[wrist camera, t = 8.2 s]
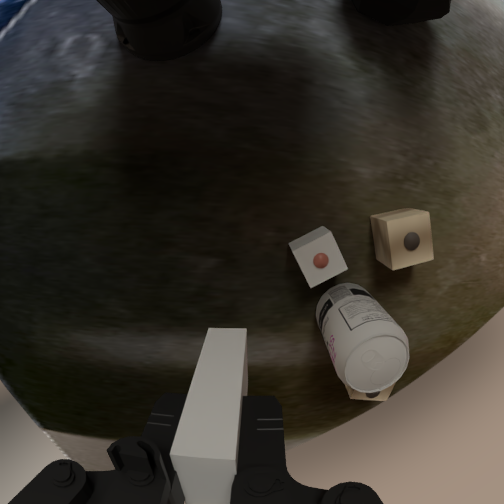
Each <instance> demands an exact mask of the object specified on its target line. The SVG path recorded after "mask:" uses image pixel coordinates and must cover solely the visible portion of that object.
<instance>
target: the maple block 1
mask: <svg viewBox="0 0 504 504" xmlns="http://www.w3.org/2000/svg"><path fill="white" fill-rule="evenodd" d="M395 383H396V382H395ZM395 383H394V384H393V385H391V386H389V387H388V388H386V389H384V390H382V391H378V392H373V393H363V392H359V391H357V390H355V389H353V388H351V387H350V386H348V385H346V384H345V386H346V389H347V391H348V394H349V397H350V399H360V400H376V401H387V399H388V397H389V395H390V393H391V391H392V389H393V387H394V385H395Z"/></svg>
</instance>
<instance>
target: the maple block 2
mask: <svg viewBox="0 0 504 504" xmlns="http://www.w3.org/2000/svg"><path fill="white" fill-rule="evenodd" d="M370 220H371V226H372V233H373V240H374V247H375V254H376V259H377V260H378V261H380V262H381V263H383V264H384V265H385V266H387V267H388V268H390V269H391V270H397V269H401V268H404V267H408V266H412V265H415V264H419V263H422V262H426V261H430V260H433V259H434V257H433V245H432V234H431V225H430V216H429V212H427V211H422V210H417V209H412V208H405V209H400V210H396V211H391V212H386V213H381V214H377V215H372V216H370Z"/></svg>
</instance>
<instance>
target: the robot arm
mask: <svg viewBox="0 0 504 504" xmlns="http://www.w3.org/2000/svg"><path fill="white" fill-rule="evenodd" d="M97 1H98V2H99V3H100V4H101V5H102V6H103V7H104V8H105V9H106V10H107V11H108V12H109V13H110V14H111V15H112V16H113V21H114V26H115V31H116V35H117V37H118V39H119V41H120V42H121V44H122V45H123V46H124V47H125V48H126V49H127V50H128V51H129V52H130V53H132V54H133V55H135V56H137V57H139V58H142V59H146V60H152V61H162V60H169V59H174V58H177V57H180V56H183V55H185V54H188V53H190V52H191V51H193V50H195V49H196V48H198V47H199V46H201V45H202V44H203V43H205V42H206V41H207V40H208V39H209V38H210V37H211V35H212V34H213V33H214V32H215V30H216V28H217V27H218V25H219V22H220V19H221V15H222V5H221V1H220V0H97ZM247 388H248V369H247V329H246V328H209V329H208V332H207V335H206V338H205V341H204V344H203V347H202V351H201V354H200V357H199V360H198V363H197V367H196V370H195V373H194V376H193V379H192V383H191V386H190V389H189V392H188V394H176V393H165V394H164V395H163V396H161V397H160V398H159V399H158V400H157V401H156V402H155V405H154V407H153V409H152V412H151V415H150V416H149V419H148V421H147V422H148V423H147V424H146V426H145V428H144V431H143V433H142V435H141V437H126V438H122V439H119V440H117V441H116V442H114V443H112V444H111V445H110V447H109V448H108V449H107V452H108V455H109V457H110V459H111V461H112V463H113V465H114V467H115V470H111V471H85V470H84V468H83V467H82V466H81V465H80V464H79V463H77V462H75V461H72V460H69V459H60V460H57V461H53V462H52V463H50V464H49V465H47V466H46V467H45V468H44V469H43V470H42V471H41V472H40V473H39V474H38V475H37V476H36V477H35V478H34V479H33V480H32V481H31V482H30V483H29V484H28V485H27V486H25V487H24V488H23V489H22V491H20V492H19V493H18V494H17V495H16V496H15V497H14V498H13V499H12V500H11V501H10V502H9V503H8V504H184V501H185V503H186V504H383V502H382V501H381V500H380V498H379V496H378V495H377V493H376V492H375V491H374V490H372V488H371V487H369V486H367V485H365V484H362V483H358V482H346V483H340V484H338V485H336V486H334V487H332V488H330V489H329V490H324V489H318V488H312V487H308V486H305V485H302V484H300V483H298V482H297V481H295V480H294V479H293V478H292V477H291V476H290V475H289V473H288V471H287V467H286V459H285V444H284V431H283V420H282V406H281V405H280V403H279V402H278V400H277V399H276V398H275V396H247Z"/></svg>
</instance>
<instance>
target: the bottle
mask: <svg viewBox="0 0 504 504" xmlns="http://www.w3.org/2000/svg"><path fill="white" fill-rule="evenodd" d="M352 2H353V3H354V5H355V7H356V8H357V10H358V12H360V13H362V14H364V15H367V16H369V17H371V18H373V19H375V20H377V21H379V22H381V23H383V24H385V25H386V26H389V25H398V24H409V23H416V22H421V21H427V20H433V19H439V18H442V17H443V16H444V15H446V14H447V13H449V11H450V2H451V0H352Z"/></svg>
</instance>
